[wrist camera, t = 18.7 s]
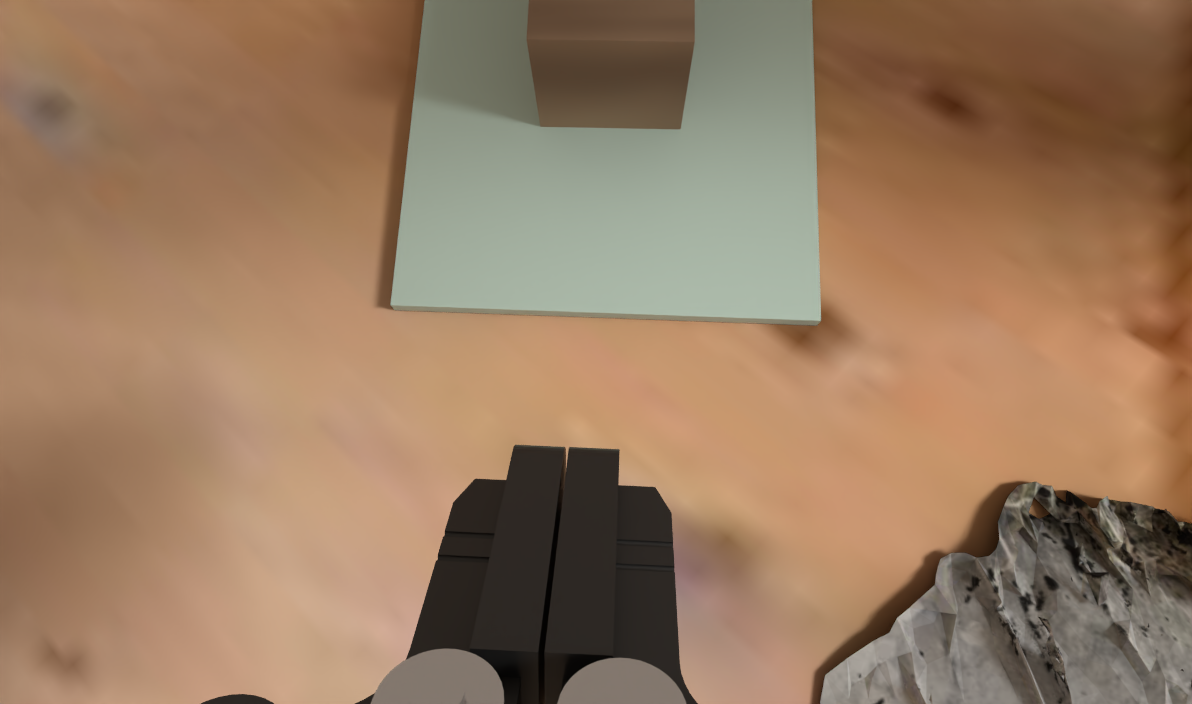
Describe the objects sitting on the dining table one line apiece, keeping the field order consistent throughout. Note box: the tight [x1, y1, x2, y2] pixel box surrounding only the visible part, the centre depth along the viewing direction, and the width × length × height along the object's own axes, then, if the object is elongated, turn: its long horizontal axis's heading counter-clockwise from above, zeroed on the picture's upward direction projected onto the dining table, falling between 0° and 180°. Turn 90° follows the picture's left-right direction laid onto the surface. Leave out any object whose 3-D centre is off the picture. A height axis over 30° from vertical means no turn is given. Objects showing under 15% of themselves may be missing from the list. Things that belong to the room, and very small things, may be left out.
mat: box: [390, 0, 821, 325], centre depth 27 cm, size 20×13×1 cm, turn 178°
